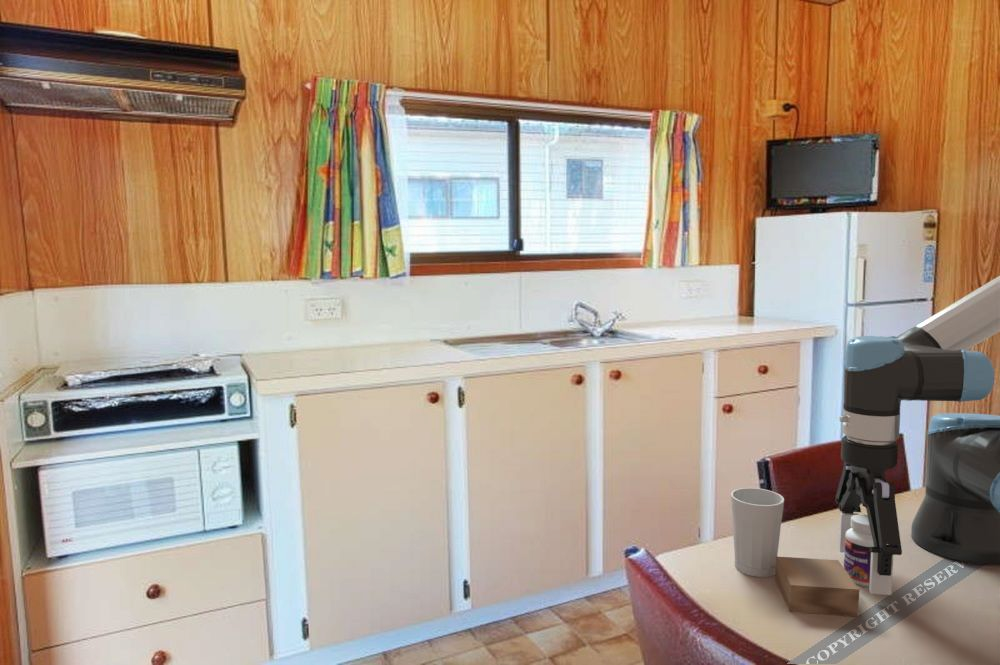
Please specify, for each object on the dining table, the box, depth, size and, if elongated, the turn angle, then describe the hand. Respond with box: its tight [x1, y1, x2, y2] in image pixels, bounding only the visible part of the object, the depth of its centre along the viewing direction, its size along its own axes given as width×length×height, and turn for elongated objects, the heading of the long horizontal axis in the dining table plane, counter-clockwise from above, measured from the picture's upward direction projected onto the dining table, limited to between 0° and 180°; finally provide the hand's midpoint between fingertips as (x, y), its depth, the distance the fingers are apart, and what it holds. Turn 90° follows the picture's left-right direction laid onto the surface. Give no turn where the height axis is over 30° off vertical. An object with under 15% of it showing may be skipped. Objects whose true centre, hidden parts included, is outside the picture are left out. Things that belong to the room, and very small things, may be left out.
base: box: [774, 555, 860, 618], centre depth 97 cm, size 9×9×4 cm
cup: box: [730, 487, 785, 578], centre depth 106 cm, size 8×8×12 cm
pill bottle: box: [843, 514, 874, 588], centre depth 101 cm, size 5×5×10 cm
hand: (862, 571), depth 102 cm, fingers open, 13 cm apart
